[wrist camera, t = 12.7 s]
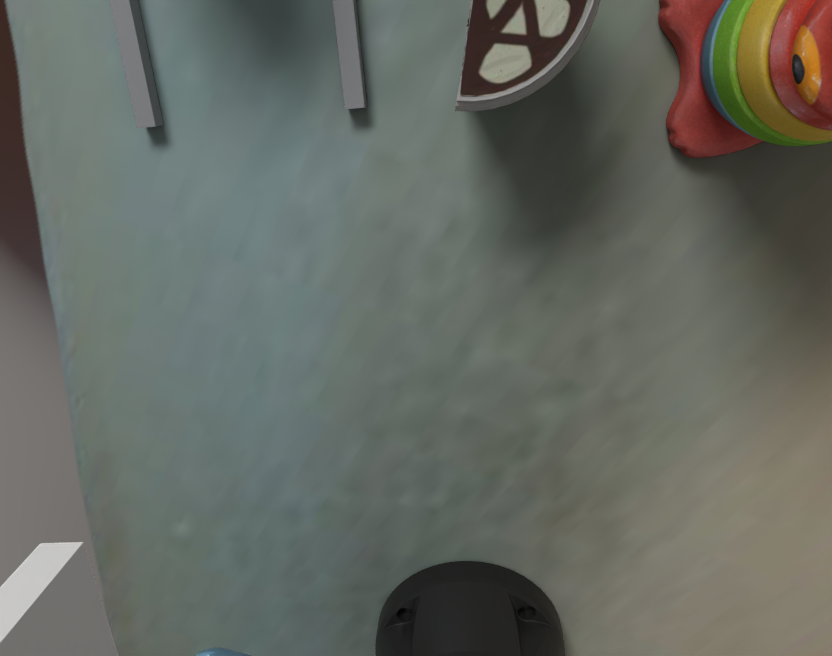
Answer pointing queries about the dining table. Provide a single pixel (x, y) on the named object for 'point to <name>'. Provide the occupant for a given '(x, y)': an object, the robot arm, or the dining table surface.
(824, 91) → the stacking bear
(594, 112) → the dining table surface
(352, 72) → the guide channel
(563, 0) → the food container
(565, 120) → the dining table surface
